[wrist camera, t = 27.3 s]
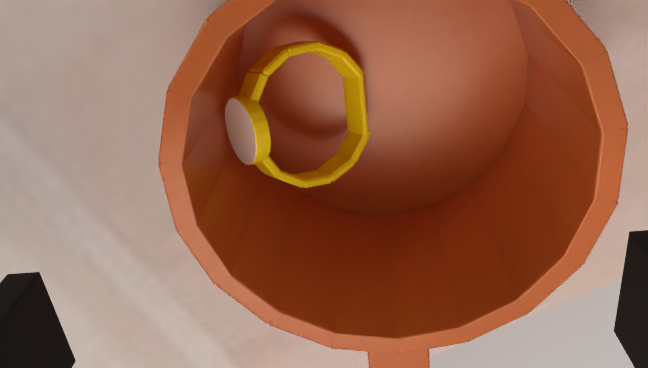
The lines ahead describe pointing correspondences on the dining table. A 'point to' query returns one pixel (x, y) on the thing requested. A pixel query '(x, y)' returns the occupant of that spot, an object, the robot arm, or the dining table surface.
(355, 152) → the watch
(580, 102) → the pot
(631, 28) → the dining table surface
